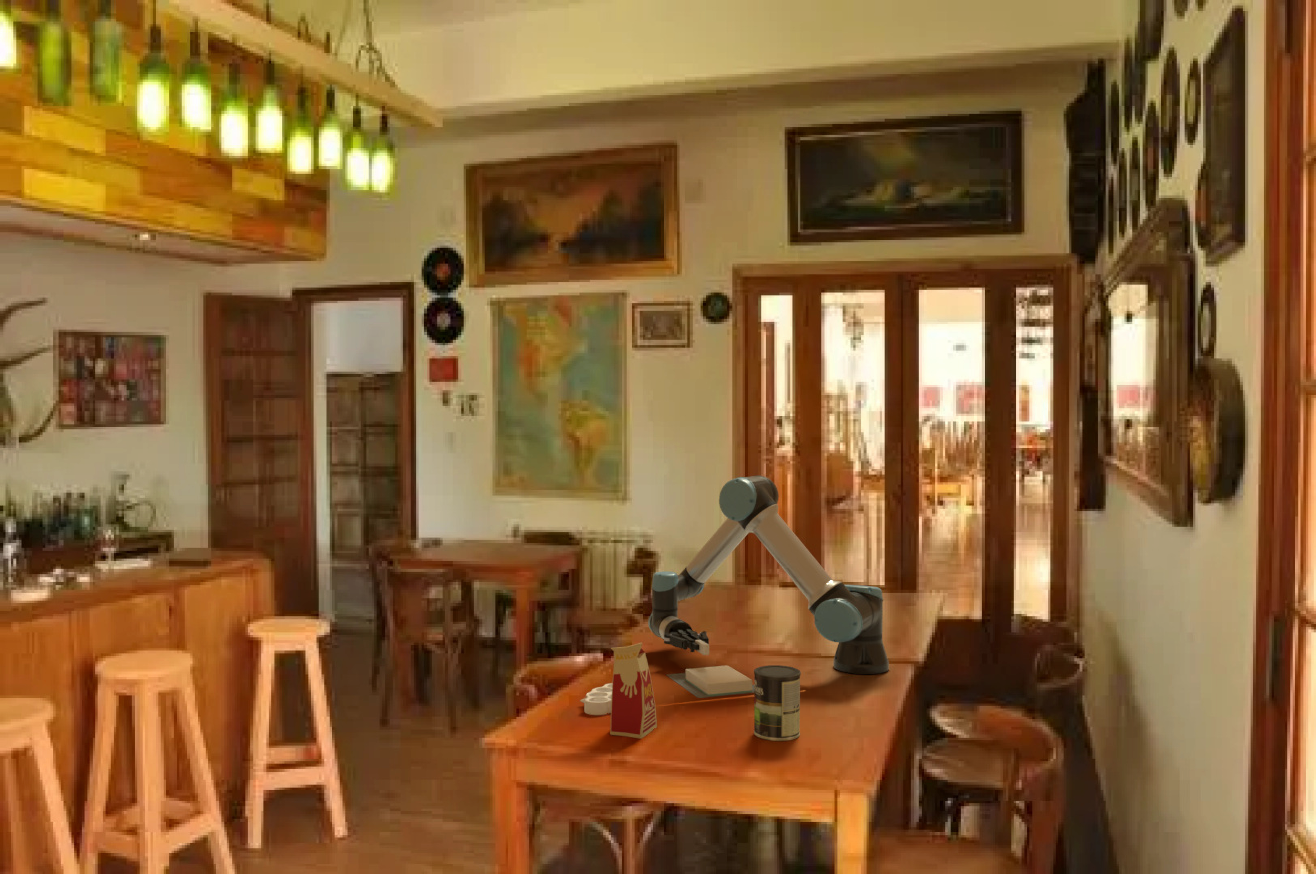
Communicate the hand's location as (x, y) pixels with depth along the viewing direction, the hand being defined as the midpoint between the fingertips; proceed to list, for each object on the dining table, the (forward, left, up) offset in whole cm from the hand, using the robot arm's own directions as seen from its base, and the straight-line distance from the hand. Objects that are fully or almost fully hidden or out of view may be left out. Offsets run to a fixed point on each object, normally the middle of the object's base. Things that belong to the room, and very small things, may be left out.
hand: (706, 650), depth 271 cm
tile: (+1, -1, -6) cm, 7 cm away
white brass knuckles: (+1, +32, -9) cm, 34 cm away
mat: (-3, +1, -8) cm, 9 cm away
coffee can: (-42, +20, -9) cm, 47 cm away
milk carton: (-18, +42, -9) cm, 47 cm away
